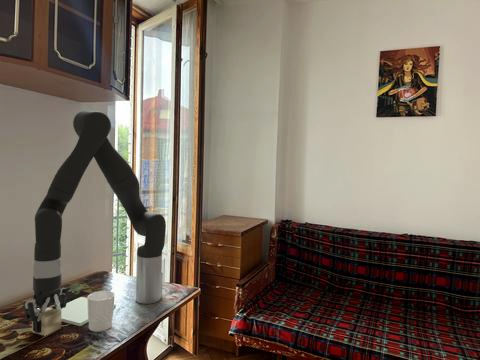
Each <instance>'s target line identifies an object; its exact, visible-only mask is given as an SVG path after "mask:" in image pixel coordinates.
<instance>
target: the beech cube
mask: <svg viewBox="0 0 480 360" xmlns="http://www.w3.org/2000/svg"><path fill="white" fill-rule="evenodd" d="M37 316H38V315H37ZM41 320H42V322H41V332H40V333H36V332H34V331H33V322H32V321H31V331H32V332H31V333H33V334H37V335H40V336H43V335H44V337H47V336H49V335H51V334H53V333H54V332H56V331H58V330H60V329H62V321H61V310H56V309H52V308H51V307H50V306H49V307H47V308H46V310H45V312H44V313H43V315H42V318H41ZM52 332H53V333H52ZM50 333H51V334H50ZM48 334H49V335H48ZM46 335H47V336H46Z"/></svg>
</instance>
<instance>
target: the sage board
mask: <svg viewBox="0 0 480 360" xmlns="http://www.w3.org/2000/svg"><path fill="white" fill-rule="evenodd" d="M116 307H117V305H116V303H114V309H115V308H116ZM62 322H63V323H66V324H70V325H74V326H77V327H81V326H84V325H85V324H87V323H89V320H88V301H87V297H84V296H80V297H78V298H76V299H73V300H72V301H69V302H67V303H66V307H65V308H62V309H61V323H62Z"/></svg>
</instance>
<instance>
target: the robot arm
mask: <svg viewBox="0 0 480 360" xmlns="http://www.w3.org/2000/svg"><path fill="white" fill-rule="evenodd" d="M72 126H73V129H74V131H75V133H76V135H77V137H78V140H77V142H76V144H75V146H74V147H73V150H72V151H71V153H70V154H69V155H68V157H67V158H66V159H65V161H64V162H63V163H62V164H61V165H60V167H59V168H58V170H57V172H56V173H55V175H54V177H53V179H52V181H51V184H50V185H49V188H48V190H47V193H46V195H45V197H44V198H43V200H42V201H41V204H39V207H38V208H37V210H36V213H35V215H34V229H35V230H34V231H35V232H34V233H35V235H34V236H35V243H34V248H33V249H34V252H33V253H34V257H33V258H34V260H33V261H34V262H33V267H32V290H33V292H34V294H33V297H32V299H30V300H28V301H27V300H25V301H24V302H23V303H22V305H23V311H24V315H25V320H26V321H29V322H31V323H32V322H33V331H34V332H36V333H40V332H41V322H42V320H41V318H42V315H43V313H44V312H45V310H46V308H48V307H49V308H52V309H56V310H61V309H62V308H65V307H66V303H68V302H67V301H68V297H69V288H67V287H62V268H63V265H62V258H61V257H62V245H61V244H62V243H61V240H62V239H61V238H62V233H63V232H62V229H63V214H64V212H65V209H66V207H67V205H68V203H70V202H71V201H72V199H73V197H74V195H75V193H76V191H77V189H78V187H79V186H80V185H79V184H80V182H81V180H82V178H83V176H84V174H85V172H86V170H87V169H88V167H89V165H90V163H91V162H92V160H93V159H94V160H95V162H96V163H97V166H98V167H99V169H100V171H101V173H102V174H103V176H104V177H105V179H106V182H107V184H108V185H109V187H110V188H111V190H112V191H113V193H114V194H115V196H116V197H117V200H118V201H119V203H120V204H121V206H122V207H123V209H124V211H125V212H126V215H127V217H128V219H129V221H130V223H131V225H132V228H133V229H134V231H135V232H136V233H137V234H138V235H139V236H142V237H144V239H145V240H144V244H143V245H139V246H138V247H137V249H136V278H135V279H136V285H135V286H136V288H135V301H136V302H137V303H139V304H142V305H150V304H155V303H158V302H159V301H160V300H161V299H162V297H163V274H164V273H163V272H162V271H163V269H162V268H163V267H162V266H163V250H164V249H165V248H164V247H165V243H166V241H165V240H166V231H167V230H166V229H167V227H166V226H167V224H166V223H167V222H166V219H165V217H164V216H163V214H160V213H157V212H152V211H149V210H148V209H147V208H146V206H145V205H144V203H143V202H142V200H141V197H140V196H141V194H140V191H141V189H140V180H139V178H138V177H137V175H136V173H135V171H134V170H133V168H132V166H131V164H130V163H129V162H128V161H127V160H126V159H125V157H123V156H122V154H121V153H120V152H119V151H118V150H117V149H116V148H115V147H114V146H113V144H112V142H111V140H109V135H110V132H111V130H112V123H111V119H110V118H109V116H108V115H107V114H106V113H104V112H101V111H97V110H81V111H79V112H77V113H76V114H75V116H74V118H73V121H72ZM37 315H38V316H37ZM36 333H35V334H36Z"/></svg>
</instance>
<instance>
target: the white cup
mask: <svg viewBox="0 0 480 360" xmlns="http://www.w3.org/2000/svg"><path fill="white" fill-rule="evenodd" d="M86 298H87V301H88V320H89V322H88V330H90V331H92V332H95V333H96V332H98V333H99V332H104V331H107V330H109V329H111V327H112V326H113V317H114V309H115V308H114V304H115V293H114V292H112V291H111V290H109V291H108V290H99V291H94V292H91V293H90V294H88V295H87V296H86Z"/></svg>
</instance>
